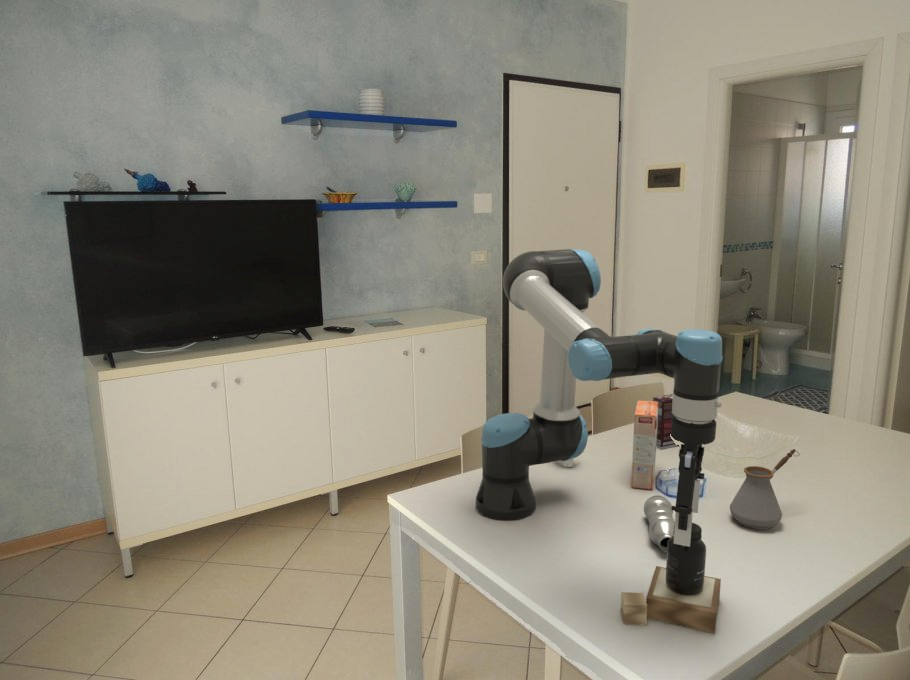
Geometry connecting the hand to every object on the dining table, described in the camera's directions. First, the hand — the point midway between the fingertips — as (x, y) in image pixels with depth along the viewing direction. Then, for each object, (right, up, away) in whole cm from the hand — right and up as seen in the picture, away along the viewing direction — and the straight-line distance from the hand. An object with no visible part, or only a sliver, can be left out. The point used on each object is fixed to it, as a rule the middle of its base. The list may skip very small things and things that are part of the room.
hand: (686, 527), depth 123 cm
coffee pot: (+33, -8, +39) cm, 52 cm away
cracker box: (+10, -4, +61) cm, 62 cm away
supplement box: (+24, +1, +87) cm, 90 cm away
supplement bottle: (0, -12, +2) cm, 12 cm away
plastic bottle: (+6, -6, +39) cm, 40 cm away
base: (0, -16, +3) cm, 16 cm away
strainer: (-10, -2, +72) cm, 73 cm away
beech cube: (-10, -17, 0) cm, 19 cm away
